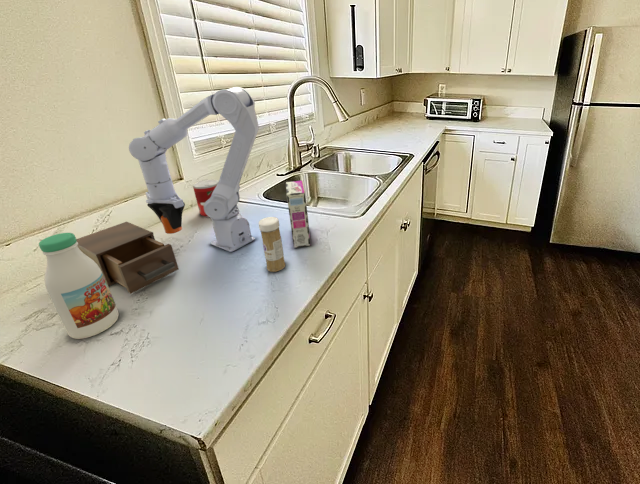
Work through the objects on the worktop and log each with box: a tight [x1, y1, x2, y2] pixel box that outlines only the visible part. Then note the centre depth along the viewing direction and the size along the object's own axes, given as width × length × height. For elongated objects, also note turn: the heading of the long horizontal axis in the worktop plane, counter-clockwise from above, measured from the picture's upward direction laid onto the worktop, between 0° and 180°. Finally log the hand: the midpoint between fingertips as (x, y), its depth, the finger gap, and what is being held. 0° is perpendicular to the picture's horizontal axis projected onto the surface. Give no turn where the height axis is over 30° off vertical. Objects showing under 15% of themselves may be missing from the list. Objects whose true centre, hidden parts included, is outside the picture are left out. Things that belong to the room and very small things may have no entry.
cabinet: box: [76, 221, 156, 287], centre depth 83 cm, size 13×12×9 cm
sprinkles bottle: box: [258, 216, 286, 273], centre depth 81 cm, size 5×5×14 cm
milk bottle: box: [38, 232, 120, 340], centre depth 62 cm, size 8×8×20 cm
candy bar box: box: [285, 180, 312, 249], centre depth 94 cm, size 11×5×16 cm, turn 20°
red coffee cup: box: [192, 178, 219, 218], centre depth 112 cm, size 8×8×11 cm
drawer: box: [100, 237, 180, 295], centre depth 78 cm, size 16×10×7 cm, turn 62°
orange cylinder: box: [161, 213, 183, 235], centre depth 91 cm, size 4×4×6 cm
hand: (172, 225), depth 91 cm, fingers closed on orange cylinder, 4 cm apart
